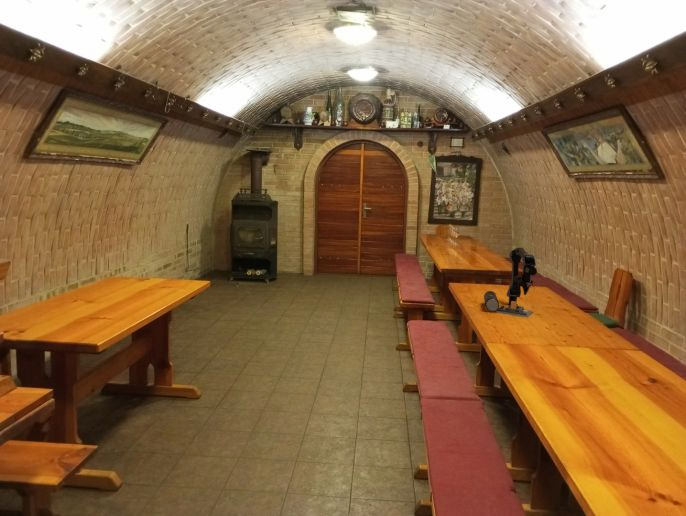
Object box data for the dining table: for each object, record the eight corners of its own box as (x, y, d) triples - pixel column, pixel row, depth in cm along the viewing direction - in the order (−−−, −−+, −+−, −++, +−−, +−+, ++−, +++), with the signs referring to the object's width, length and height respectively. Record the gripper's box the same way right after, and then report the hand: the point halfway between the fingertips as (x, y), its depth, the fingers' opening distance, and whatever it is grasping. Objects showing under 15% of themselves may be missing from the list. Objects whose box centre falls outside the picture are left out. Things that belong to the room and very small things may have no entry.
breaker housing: (510, 308, 397) (510, 304, 397) (527, 310, 391) (527, 307, 390) (505, 311, 386) (505, 308, 386) (522, 314, 380) (523, 310, 379)
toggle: (511, 310, 388) (512, 300, 387) (516, 311, 386) (517, 301, 385) (509, 311, 386) (510, 301, 385) (514, 312, 384) (515, 302, 383)
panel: (502, 307, 402) (502, 306, 401) (533, 313, 390) (533, 311, 390) (495, 312, 388) (495, 310, 388) (527, 317, 377) (527, 315, 377)
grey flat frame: (502, 306, 400) (502, 305, 400) (531, 311, 390) (531, 309, 389) (496, 310, 388) (496, 308, 388) (526, 315, 377) (526, 313, 377)
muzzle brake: (496, 304, 412) (497, 290, 411) (499, 313, 385) (499, 298, 384) (483, 303, 414) (483, 290, 413) (484, 312, 387) (485, 297, 385)
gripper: (518, 269, 399) (517, 291, 401) (511, 273, 383) (509, 295, 385) (534, 271, 393) (532, 293, 395) (528, 275, 377) (526, 297, 379)
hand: (525, 294), depth 389 cm, fingers closed
